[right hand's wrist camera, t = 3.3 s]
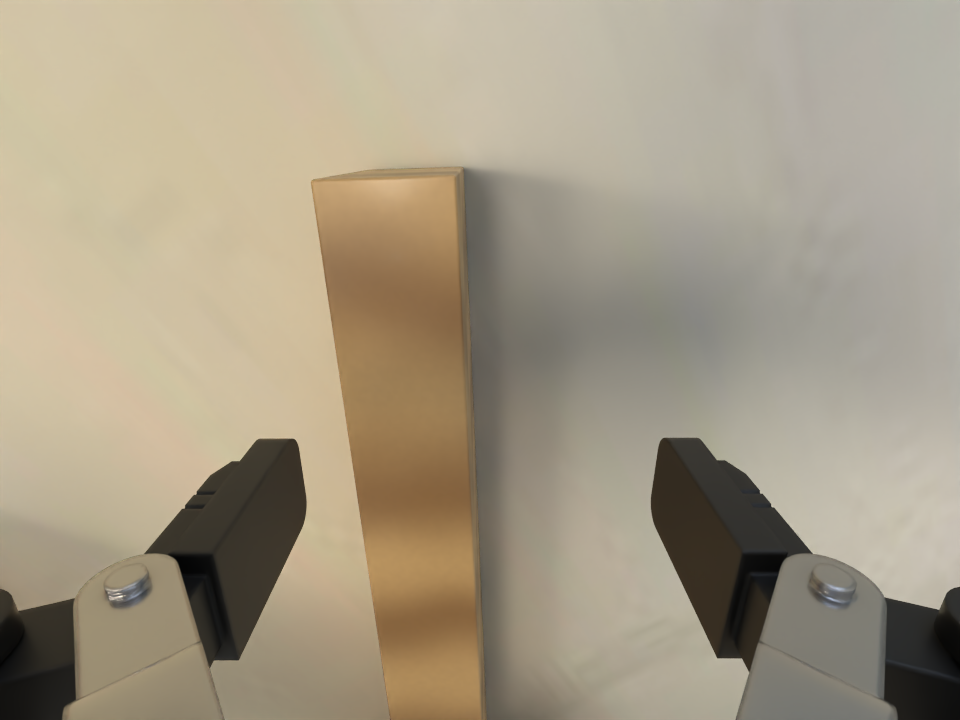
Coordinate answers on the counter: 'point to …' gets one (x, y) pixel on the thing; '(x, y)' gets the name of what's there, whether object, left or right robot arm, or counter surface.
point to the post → (410, 424)
